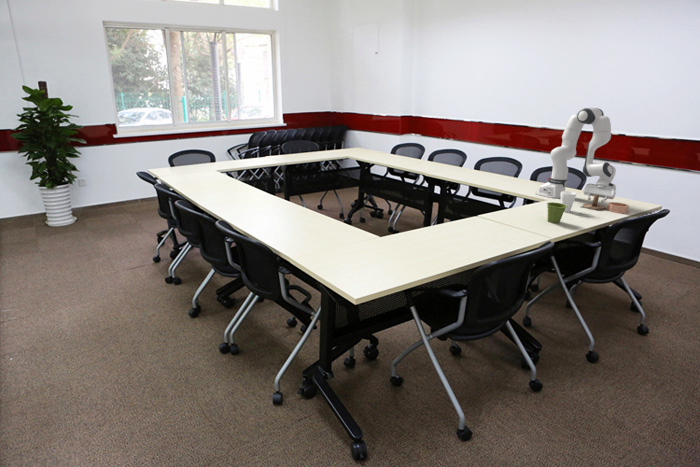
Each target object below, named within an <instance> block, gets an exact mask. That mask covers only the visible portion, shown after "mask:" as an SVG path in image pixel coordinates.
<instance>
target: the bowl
mask: <svg viewBox="0 0 700 467" xmlns="http://www.w3.org/2000/svg"><path fill="white" fill-rule="evenodd" d="M629 209H630V205H629V204H627V203H622V202H613V201H612V202H611V201H610V202H609V203H607V207H606V210H607V211H609V212H610V213H615V214H628V212H629Z"/></svg>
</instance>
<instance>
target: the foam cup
mask: <svg viewBox="0 0 700 467" xmlns="http://www.w3.org/2000/svg"><path fill="white" fill-rule="evenodd" d="M576 197H577V193H576V192H575V191H568V190H565V191H562V192H561V198H560V201H559V202H560V203H561V204H564V205H567V207H566V209H565V211H564V213H570V212H571V209H572V208H573V204H574V202H575V199H576Z"/></svg>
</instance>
